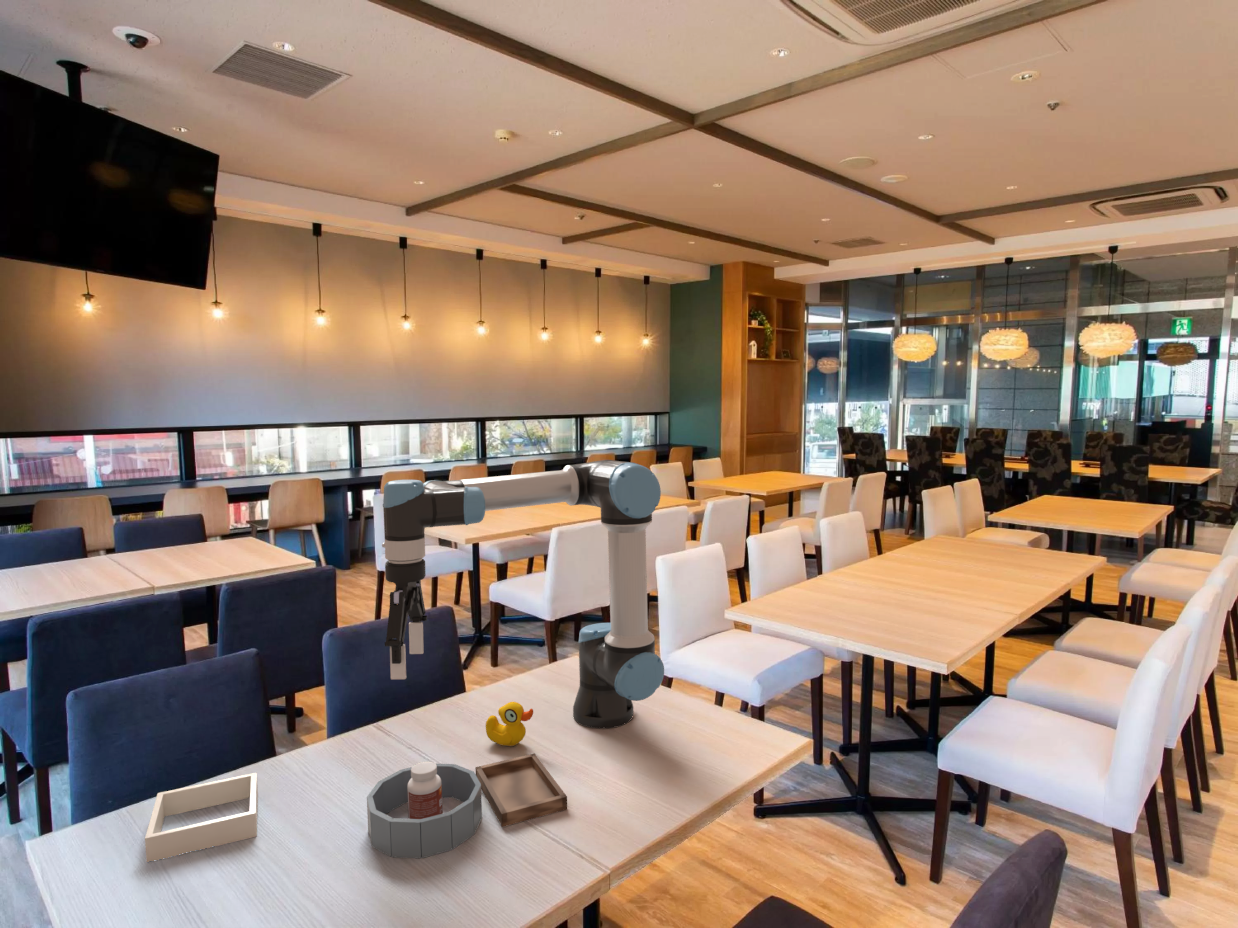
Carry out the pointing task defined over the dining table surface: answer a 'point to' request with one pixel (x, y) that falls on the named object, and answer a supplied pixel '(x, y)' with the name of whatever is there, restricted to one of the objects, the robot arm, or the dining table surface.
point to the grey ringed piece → (428, 832)
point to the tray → (520, 789)
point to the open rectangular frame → (204, 832)
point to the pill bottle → (424, 791)
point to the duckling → (508, 724)
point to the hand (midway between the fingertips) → (408, 665)
